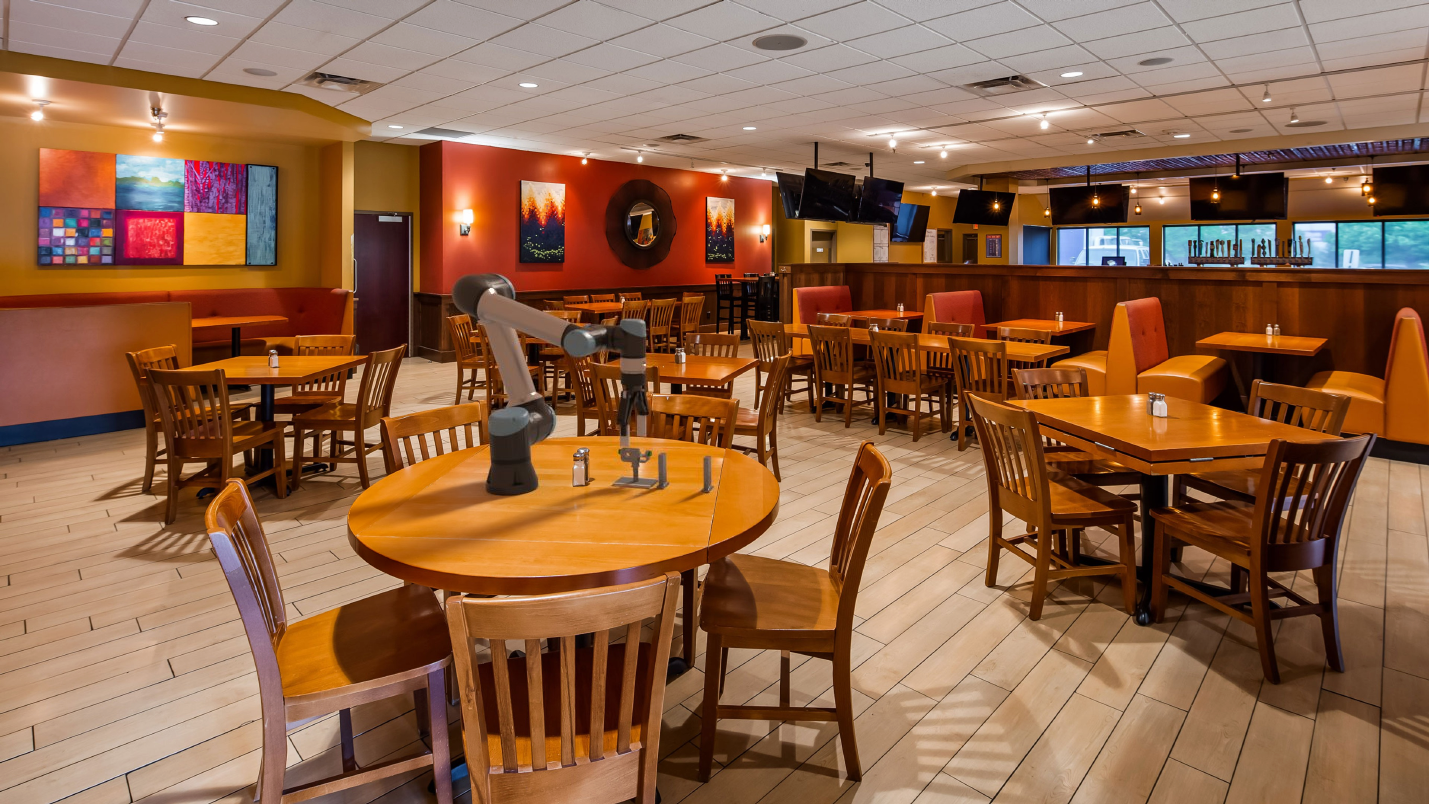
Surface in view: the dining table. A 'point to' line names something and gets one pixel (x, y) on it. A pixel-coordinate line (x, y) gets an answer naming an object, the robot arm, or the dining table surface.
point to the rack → (663, 473)
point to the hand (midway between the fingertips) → (633, 441)
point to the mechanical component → (634, 458)
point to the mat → (640, 483)
